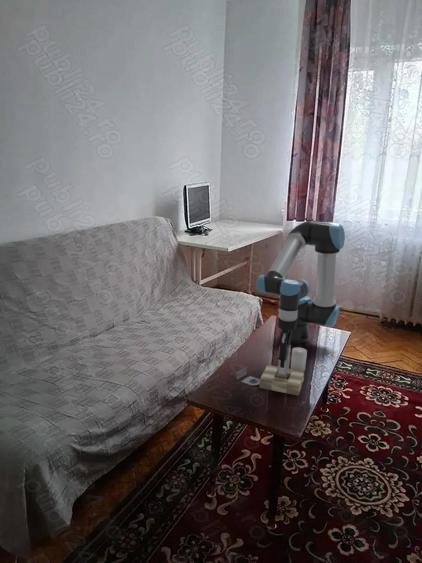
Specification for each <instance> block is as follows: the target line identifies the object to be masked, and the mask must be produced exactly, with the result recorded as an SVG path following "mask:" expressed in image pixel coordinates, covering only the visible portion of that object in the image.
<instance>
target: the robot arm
mask: <svg viewBox="0 0 422 563" xmlns="http://www.w3.org/2000/svg"><path fill="white" fill-rule="evenodd" d="M345 235H346V234H345V229H344V226H343V225H342V224H341V223H336V222H331V221H330V222H327V221H318V220H317V221H315V220H307V221H304V222H302V223H299V224H298V225H296V226H295V227H294V228H292V229H291V230H290V231H289V233H288V235H286V240H285V241H286V242H285V244H284V245H283V247H282V248H281V250H280V252H279V254H278V255H277V257H276V258H275V260H274V262H273V263H272V265H271V267H270V268H269V270H268V271H267V273H266V274H260V275H258V277H257V279H256V283H255V287H256V290H257V291H258V292H259V293H264V294H269V295H274V296H275V295H276V296H279V303H278V309H276V311H277V312H278V316H277V317H278V318H277V328H278V329H279V330H281V332H280V335H279V336H280V338H279V346H280V351H279V350H278V355H279V358H278V357H277V360H278V359H279V360H280V361H279V373H278V374H283V375H285V372H286V355H287V346H288V345H291V342H294V343H293V344H306V343H308V342H310V341H311V335H310V331H309V330H310V329H309V326H308V325H309V324H313V325H316V326H321V327H326V328H333V327H334V326H335V324H336V322H337V320H338V317H339V315H340V314H339V313H340V311H341V310H340V309H341V308H340V306H339V305H338V304H337V300H336V299H335V298H334V294H335V293H334V291H335V282H336V281H335V280H336V279H335V278H336V263H337V254H338V253H340V251H341V250H342V249H343V248H344V246H345V241H346V240H345V239H346V236H345ZM305 246H312V247H314V252H315V253H316V254H317V264H316V266H317V267H316V268H317V269H316V285H315V286H316V287H315V297H314V298H313V299H312V300H311V297H310V296H308V294H309V293H310V291H311V287H310V283H309V282H308V281H307V280H305V279H301V278H299V279H296V280H294V279H288V278H285V277H286V276H287V273H288V272H289V270H290V268H291V267H292V265H293V264H294V261H295V260H296V258H297V256H298V254H299V253H300V252H301V250H303V249H304V248H305ZM305 342H306V343H305ZM290 355H292V351H290Z"/></svg>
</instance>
